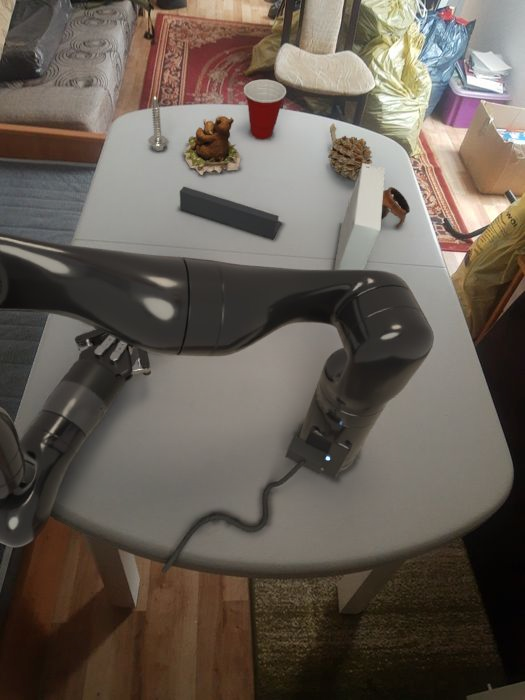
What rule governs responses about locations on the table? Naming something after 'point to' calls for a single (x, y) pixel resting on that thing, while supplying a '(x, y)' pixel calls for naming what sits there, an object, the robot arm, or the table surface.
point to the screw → (157, 129)
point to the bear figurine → (212, 147)
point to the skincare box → (361, 219)
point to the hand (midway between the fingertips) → (141, 316)
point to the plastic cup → (263, 106)
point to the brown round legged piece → (394, 204)
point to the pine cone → (348, 154)
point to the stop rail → (229, 213)
